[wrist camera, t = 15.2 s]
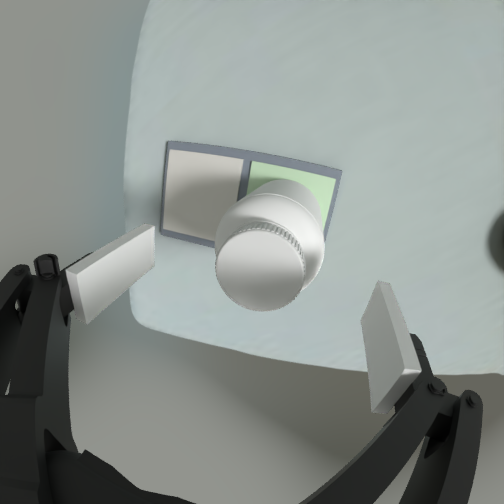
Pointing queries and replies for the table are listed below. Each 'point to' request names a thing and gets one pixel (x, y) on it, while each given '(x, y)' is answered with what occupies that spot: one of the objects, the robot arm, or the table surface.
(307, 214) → the pill bottle
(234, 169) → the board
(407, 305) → the table surface
